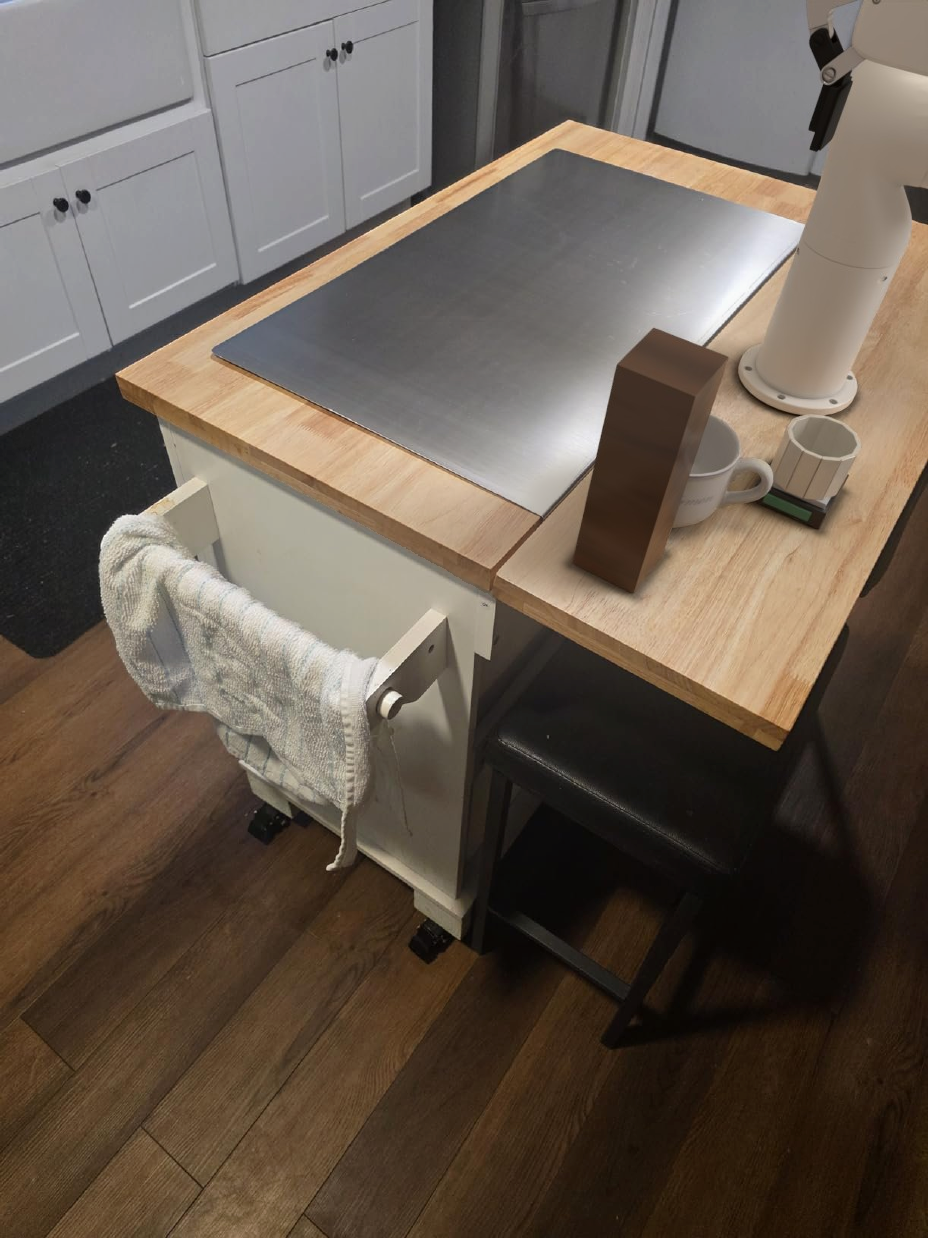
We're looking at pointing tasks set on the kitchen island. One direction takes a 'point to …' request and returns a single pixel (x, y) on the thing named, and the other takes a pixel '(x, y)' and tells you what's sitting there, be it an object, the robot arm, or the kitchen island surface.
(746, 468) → the teacup
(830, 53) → the robot arm
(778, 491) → the scale
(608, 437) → the block
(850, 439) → the white faceted cup
